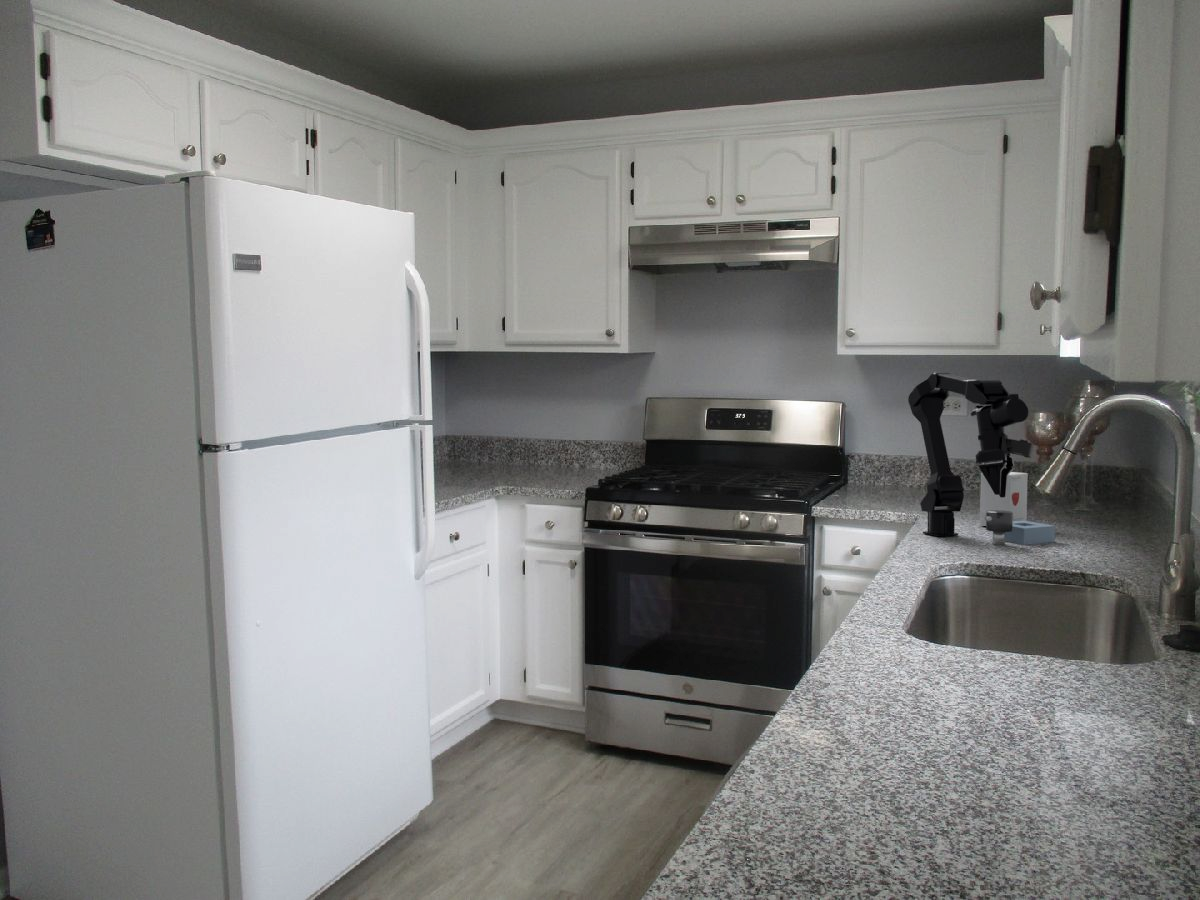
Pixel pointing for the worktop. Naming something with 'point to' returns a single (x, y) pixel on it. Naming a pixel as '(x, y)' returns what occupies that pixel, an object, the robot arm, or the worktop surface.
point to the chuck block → (1030, 533)
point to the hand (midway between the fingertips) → (1000, 496)
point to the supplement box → (1012, 500)
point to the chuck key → (999, 524)
